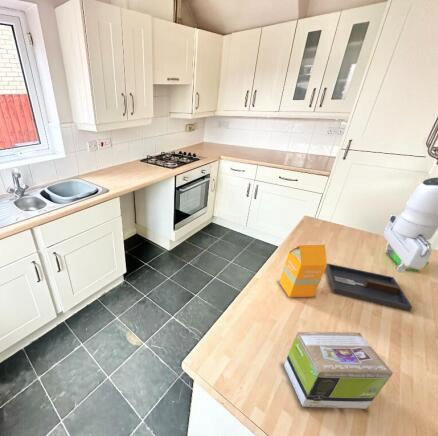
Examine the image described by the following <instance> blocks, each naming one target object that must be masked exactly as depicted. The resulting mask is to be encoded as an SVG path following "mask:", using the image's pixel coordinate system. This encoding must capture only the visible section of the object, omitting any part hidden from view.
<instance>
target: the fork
mask: <svg viewBox="0 0 438 436" xmlns="http://www.w3.org/2000/svg"><path fill="white" fill-rule="evenodd" d="M334 280H335V281H336V282H340V283H345V284H348V285H353V286H356V285H359V286H363V287H366V288H370V289H374V290H379V291H383V292H388V293H392V294H397V292H398V291H399V289H400V288H401V287H400V286H399V287H400V288H399V287H398V286H397V285H392V284H387V283H383V282H378V281H374V280H369V279H367V280H366V281H365V283H364V284H361V283H356V282H354V280H349V279H344V278H340V277H335V276H334Z"/></svg>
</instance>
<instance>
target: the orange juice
mask: <svg viewBox="0 0 438 436" xmlns="http://www.w3.org/2000/svg"><path fill="white" fill-rule="evenodd" d="M326 250H327V249H326V244H302V245H301V244H300V245H298V246H296V247H295V248H292V250H290V251H289V252H288V253H287V257H286V260H285V264H284V265H283V269H282V273H281V276H280V278H279V284H280V285H281V287H282V288H283V290H284V291H285V293H286V294H287V296H288V298H305V297H306V298H307V297H308V298H309V297H315V294H316V292H317V290H318V287H319V285H320V284H321V281H322V278H323V276H324V273H325V271H326V267H327V263H328V262H327V261H328V260H327V253H326Z"/></svg>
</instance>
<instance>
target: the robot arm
mask: <svg viewBox="0 0 438 436" xmlns="http://www.w3.org/2000/svg"><path fill="white" fill-rule="evenodd" d="M388 220H389V221H388V222H387V224H386V227H385V229H384V230H383V238H384V239H385V240H386V247H385V251H384V254H385V255H386V256H388V257H391V256H392V255H393V253H394V251H395V252H396V254H397V255H398V256H399V258H400V259H401V260H402V261H401V263H402V264H400V265H398V264H396V266H395V268H394V269H395V270H396V272H398V273H405V272H406V270H408V269H407V268H413V269H419V270H422V269H424V268H425V266H426V263H427V261H428V262H429V259H430V257H431V254H432V252H433V251H432V246H431V245H430V244H431V243H430V241H429V240H431V239H432V238H433V237H434V235H435V233H436V232H437V230H438V177H430V178H427V179H424V180H423V181H421V182H420V183H419V184H418V185H417V186H416V188H415V189H414V190H413V191H412V193H411V195H410V196H409V198H408V200H407V201H406V205H405V209H404V210H402V212H401V213H400V214H390V216H389V218H388ZM429 245H430V246H431V247H430V246H429Z"/></svg>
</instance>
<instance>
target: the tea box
mask: <svg viewBox="0 0 438 436" xmlns="http://www.w3.org/2000/svg"><path fill="white" fill-rule="evenodd" d="M283 367H284V370H285V371H286V373H287V375H288V378H289V380H290V383H291V385H292V386H293V389H294V391H295V393H296V396H297V398H298V400H299V402H300V404H301V405H302V407H308V408H336V409H362V410H363V409H368V408H369V406H370V405H371V403H372V402H373V400H374V399H375V398H376V397H377V396H378V394H379V393H380V392H381V391H382V389H383V388H384V386H385V385H386V383H388V381H389V379H390V378H391V377H392V375H393V374H394V372H393V371H392V370H391V369H390V367H389V366H388V365H387V364H386V362H384V361H383V359H382V358H381V357H380V356H379V355H378V353H377V352H376V351H375V350H374V349H373V347H372V346H371V345H370V344H369V342H368V341H367V340H366V339H365V338H364V337H363V335H362V334H361V332H354V331H353V332H351V331H297V333H296V335H295V337H294V339H293V342H292V345H291V348H290V350H289V352H288V354H287V357H286V359H285V362H284V366H283Z"/></svg>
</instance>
